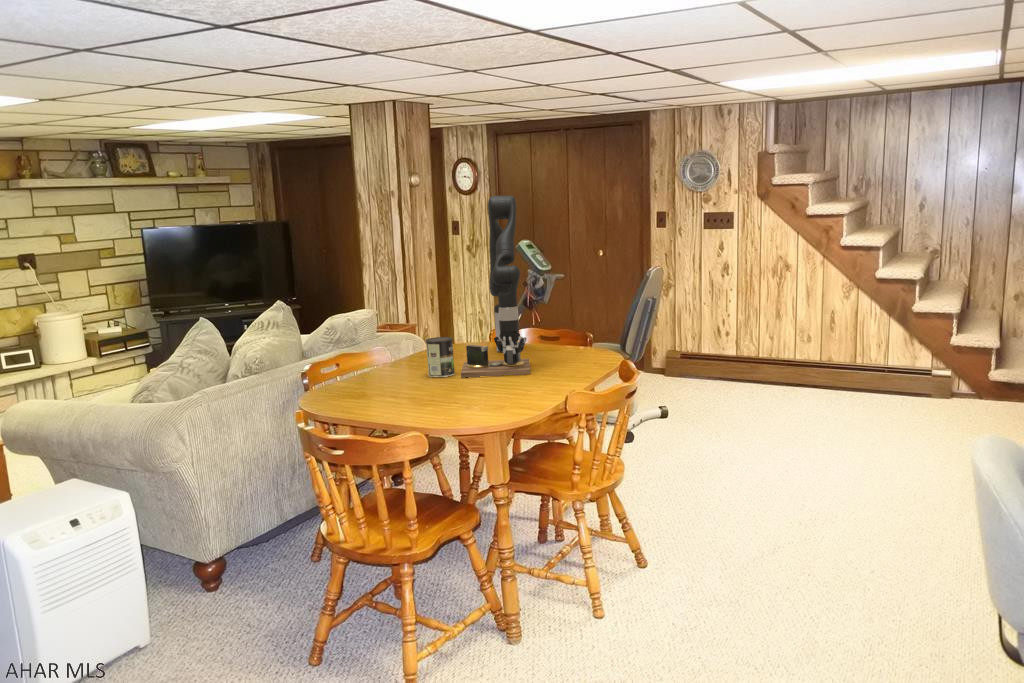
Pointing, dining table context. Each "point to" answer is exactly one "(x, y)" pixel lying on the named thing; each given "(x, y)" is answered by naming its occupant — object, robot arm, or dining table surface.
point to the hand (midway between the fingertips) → (511, 362)
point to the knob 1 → (477, 356)
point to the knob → (510, 357)
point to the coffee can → (440, 357)
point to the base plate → (496, 369)
